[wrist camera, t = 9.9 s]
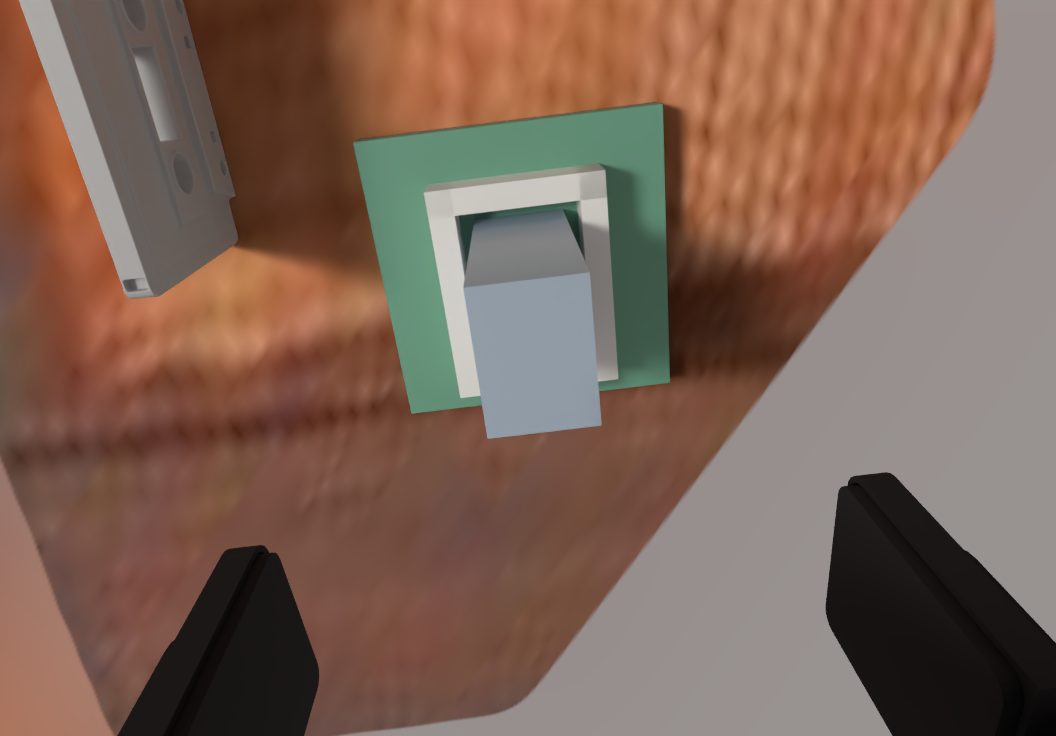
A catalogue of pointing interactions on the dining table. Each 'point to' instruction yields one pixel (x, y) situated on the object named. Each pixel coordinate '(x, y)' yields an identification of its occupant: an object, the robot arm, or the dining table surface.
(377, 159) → the header board
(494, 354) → the plug
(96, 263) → the dining table surface
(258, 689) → the robot arm
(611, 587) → the dining table surface
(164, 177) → the cassette
